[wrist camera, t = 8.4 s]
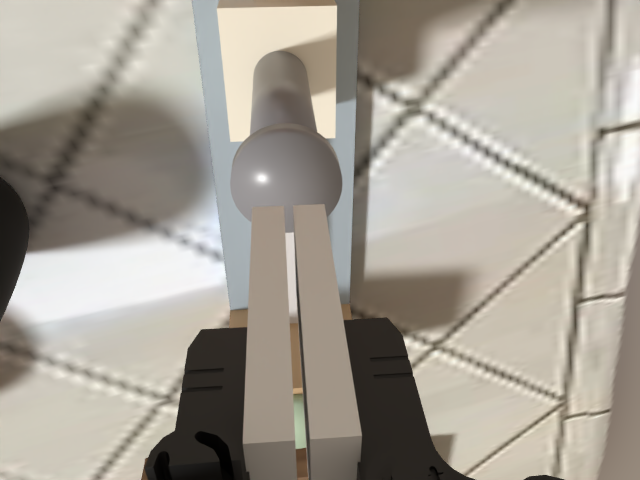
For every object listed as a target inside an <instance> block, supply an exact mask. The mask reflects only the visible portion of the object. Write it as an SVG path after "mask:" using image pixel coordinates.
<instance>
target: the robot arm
mask: <svg viewBox="0 0 640 480" xmlns="http://www.w3.org/2000/svg"><path fill="white" fill-rule="evenodd" d="M293 220H294V248H295V276H296V299H297V314H298V329H299V344H300V360H301V375H302V390H303V405H304V420H305V435H306V451H307V466H308V480H475V479H472V478H469V477H466V476H464V475H463V474H461V473H459V472H457V471H456V470H454V469H453V468H452V467H450V466H449V465H448V464H447V463H446V462H445V461H444V460H443V459H442V458H441V456H440V455H439V454H438V452H437V451H436V449H435V447H434V445H433V442H432V440H431V437H430V433H429V429H428V426H427V422H426V419H425V415H424V411H423V408H422V404H421V401H420V397H419V394H418V390H417V386H416V383H415V379H414V377H413V372H412V368H411V365H410V361H409V360H408V354H407V350H406V347H405V343H404V340H403V336H402V334H401V333H400V332H399V331H398V330H397V328H396V327H395V326H394V325H393V324H392V323H391V321H390V320H389V319H388V318H372V319H354V320H343V315H342V309H341V303H340V297H339V291H338V284H337V278H336V272H335V266H334V260H333V253H332V247H331V241H330V235H329V229H328V223H327V216H326V210H325V204H314V205H293ZM184 371H185V375H184V377H183V383H182V393H181V396H180V402H179V409H178V415H177V421H176V428H175V431H174V432H172V433H170V434H169V435H167V436H165V437H164V438H162V440H161V441H160V442H159V443H158V444H157V445H156V446H155V447H154V448H153V450H152V451H151V452H150V455H149V457H148V460H147V462H146V465H145V467H144V469H145V472H146V475H147V479H148V480H297V467H296V445H295V424H294V403H293V382H292V362H291V341H290V320H289V299H288V279H287V258H286V237H285V217H284V206H267V207H252V225H251V250H250V274H249V299H248V324H247V327H238V328H220V329H202V330H201V331H200V332H199V334H198V335H197V336H196V338H195V339H194V341H193V342H192V344H191V345H190V347H189V348H188V351H187V358H186V364H185V370H184ZM524 480H564V479H560V478H556V477H552V476H548V475H540V476H530V477H527V478H526V479H524Z"/></svg>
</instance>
